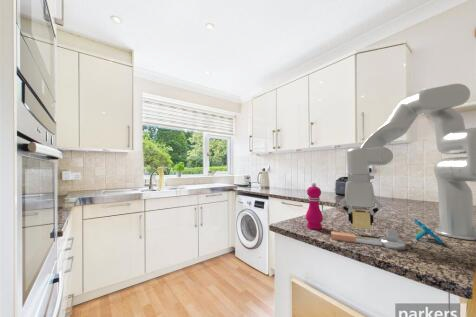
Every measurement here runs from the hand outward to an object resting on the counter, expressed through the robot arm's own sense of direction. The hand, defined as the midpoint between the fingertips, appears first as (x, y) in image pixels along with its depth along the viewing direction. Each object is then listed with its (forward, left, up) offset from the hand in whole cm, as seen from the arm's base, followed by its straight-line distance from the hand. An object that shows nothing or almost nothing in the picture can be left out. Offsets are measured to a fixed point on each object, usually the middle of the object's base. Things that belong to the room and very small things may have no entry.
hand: (360, 223), depth 80 cm
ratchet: (-1, +8, -5) cm, 10 cm away
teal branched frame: (-22, -5, -5) cm, 23 cm away
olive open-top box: (0, 0, -1) cm, 1 cm away
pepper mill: (+18, -3, -5) cm, 19 cm away
